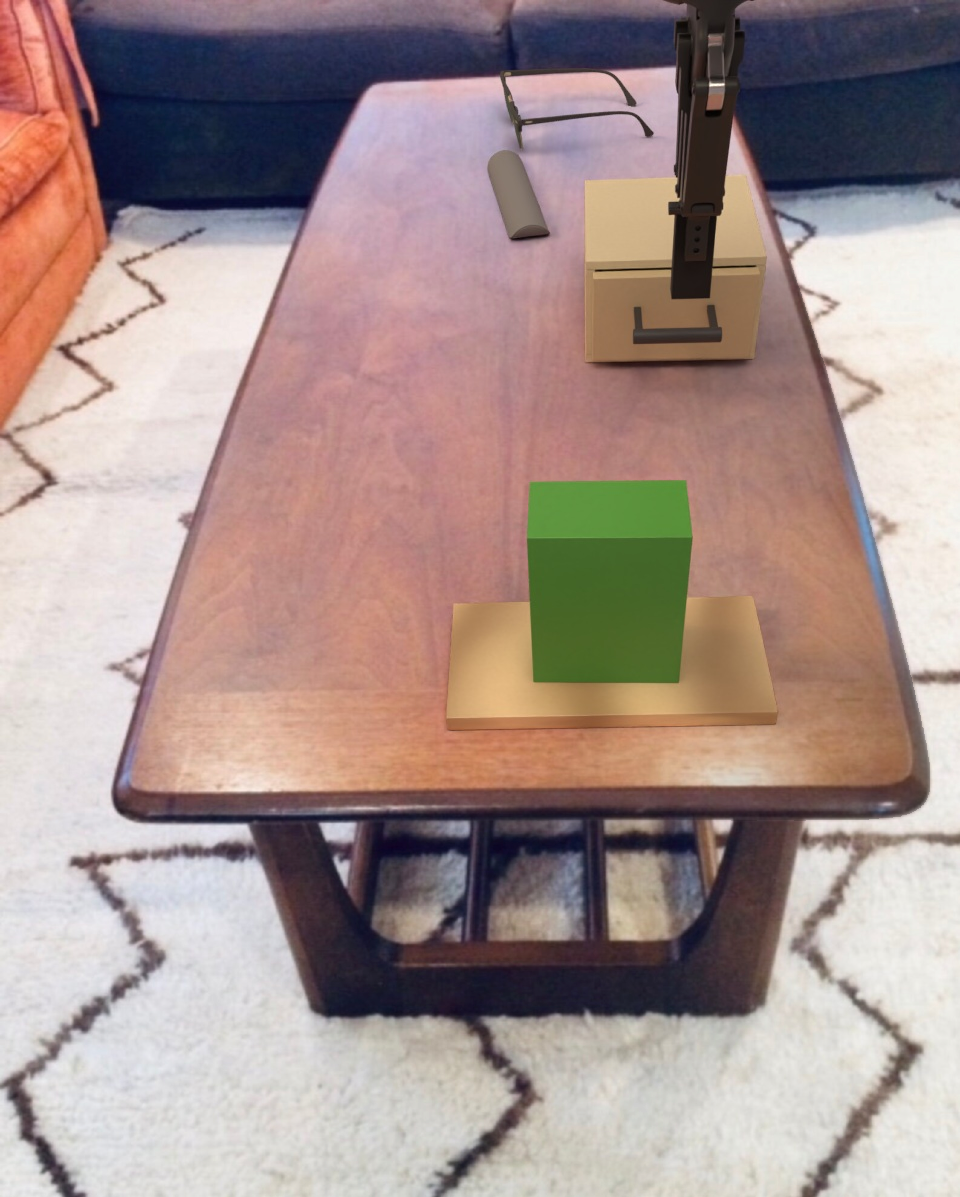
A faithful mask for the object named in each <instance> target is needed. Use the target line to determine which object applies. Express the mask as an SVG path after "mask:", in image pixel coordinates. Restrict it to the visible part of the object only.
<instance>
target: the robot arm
mask: <svg viewBox="0 0 960 1197" xmlns="http://www.w3.org/2000/svg"><path fill="white" fill-rule="evenodd" d="M662 1H663V2H666V3H669V4H673V5H677V6H681V5H683V4H685V5H686V15H685V16H681V17H680V18H679V19H674V25H673V47H674V51H675V56H676V61H675V62H676V63H675V78H674V80H675V81H674V83H675V90H676V93H677V118H676V140H675V142H676V143H675V144H676V146H675V163H674V164H673V173H674V176H675V177H676V178H677V184H676V185H675V193H676V194H677V198H680V200H679V201H675V202H668V215H675V217H674V234H673V251H672V268H671V285H670V291H671V299H704V298H710V292H711V280H712V268H713V257H714V245H715V234H716V222H717V216H720V215H721V214H722V210H723V196H725V187H724V186H725V178H726V175H727V169H728V161H729V154H730V153H729V152H730V146H731V139H732V138H731V137H732V129H733V122H734V115H735V109H736V104H737V99H738V96H739V93H740V91H741V82H740V78H739V66H740V65H741V64H742V62H743V60H744V55H745V44H746V43H745V42H746V31H745V29H741V17H740V16H736V14H735V13H736V9H737V8H738V7H739V6H740V5H742V4H744V3H745V2H749V1H750V2H754V1H755V0H662Z"/></svg>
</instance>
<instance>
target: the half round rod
mask: <svg viewBox="0 0 960 1197" xmlns="http://www.w3.org/2000/svg"><path fill="white" fill-rule="evenodd" d="M487 174H488V176H489V178H490V182H491V185H492V188H493V191H494V194H495V198H496V201H497V205H498V207H499V210H500V214H501V216H502V219H503V224H504V226H505V229H506V232H507V235H508V238H509V239H519V238H526V237H527V238H528V237H534V236H542V235H548V234H550V230H549V228H548V225H547V223H546V219H545V217H544V214H543V212H542V209H541V206H540V204H539V201H538V198H537V196H536V193H535V191H534V188H533V185H532V182H531V180H530V178H529V176H528V172H527V170H526V167H525V164H524V162H523V159H522V158H521V157H520V155H519V154H518V153H516V152H515V151H513V150H511V149H510V150H509V149H503V150H499V151H497V152H495V153H494V154H493V155H492V156H491V157H490V158H489V160H488V162H487Z"/></svg>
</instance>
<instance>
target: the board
mask: <svg viewBox="0 0 960 1197" xmlns="http://www.w3.org/2000/svg"><path fill="white" fill-rule="evenodd" d="M756 606H757V605H756V601H755V597H754V595H737V596H736V595H735V596H734V595H732V596H697V597H695V596H693V597H687V603H686V613H685V624H684V634H683V645H682V655H681V666H680V676H679V683H577V682H533V665H532V643H531V621H530V601H500V602H499V601H496V602H495V601H494V602H493V601H492V602H460V603H459V602H455V603H453V607H452V621H451V623H452V624H451V637H450V651H449V652H450V653H449V667H448V681H447V682H448V683H447V697H446V714H445V719H446V720H445V721H446V728H447V731H468V730H471V731H472V730H476V731H477V730H522V729H524V730H527V729H528V730H529V729H575V728H576V729H579V728H583V729H584V728H586V729H587V728H634V727H635V728H637V727H638V728H639V727H640V728H641V727H642V728H645V727H646V728H647V727H689V726H690V727H692V726H695V727H697V726H699V727H700V726H748V725H749V726H751V725H757V726H759V725H776V724H777V721H778V713H779V709H778V704H777V700H776V695H775V690H774V686H773V681H772V677H771V672H770V667H769V663H768V658H767V653H766V649H765V644H764V639H763V634H762V630H761V626H760V621H759V620H760V619H759V616H758V615H759V614H758V611H757V607H756Z"/></svg>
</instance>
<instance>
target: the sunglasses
mask: <svg viewBox="0 0 960 1197" xmlns="http://www.w3.org/2000/svg"><path fill="white" fill-rule="evenodd" d="M569 73H571V74H572V73H599V74H604V75H608V76H610V77H611V78H612V79H614V80H615V82H616V83H617V84H618V86H619V88H620V89H621V91H622V93H623V95H624V97H625V100H626V103H627V105H628V106H630V107H635V106H636V105H637V100H636V99H635V98H634V97H633V96H632V94H631V93H630V92H629V90H628V89H627V87H626V86H625V85H624V83H623V82H622V81H621V80H620V78H619V77H618V76H617V75H615V74H614V73H613V72H612V71H611V72H610V71H608V70H604V69H599V68H579V67H577V68H534V69H514V70H513V69H511V70H509V69H508V70H501V71H500V73H499V79H500V82H501V85H502V90H503V94H504V95H503V96H504V101H505V105H506V109H507V114H508V116H509V120H510V123H511V124H512V125H513V127H514V132H515V137H516V140H517V144H518V146H519V150H520V151H523V150H524V143H523V137H522V132H523V126H532V125H539V124H540V125H541V124H545V123H547V124H548V123H555V122H563V121H571V120H578V119H586V118H594V117H605V116H615V115H625V116H626V115H628V116H632V117H634V118H635V119H636V120H637V121H638V122H639V124H640V125H641V127H642V130H643V133H644V136H645V138H650V137H652V136H654V134H655V133H654V131H653V130H652V129H651V128H650V127H649V126H648V125H647V123H646V122H645V121H644V120H643V119H642V117H641V116H639V115H638V114H637V113H636V112H632V111H629V110H628V111H626V110H609V111H608V110H607V111H596V112H595V111H594V112H584V113H571V114H564V115H563V114H562V115H552V116H543V117H532V118H531V117H530V118H522V117H521V114H519V108H518V106H517V105H516V103H515V101H514V100H513V94H512V92H511V90H510V88H509V86H508V84H507V79H506V78H507V77H508V78H509V77H520V76H521V77H522V76H535V75H536V76H537V75H550V74H553V75H554V74H569Z"/></svg>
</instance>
